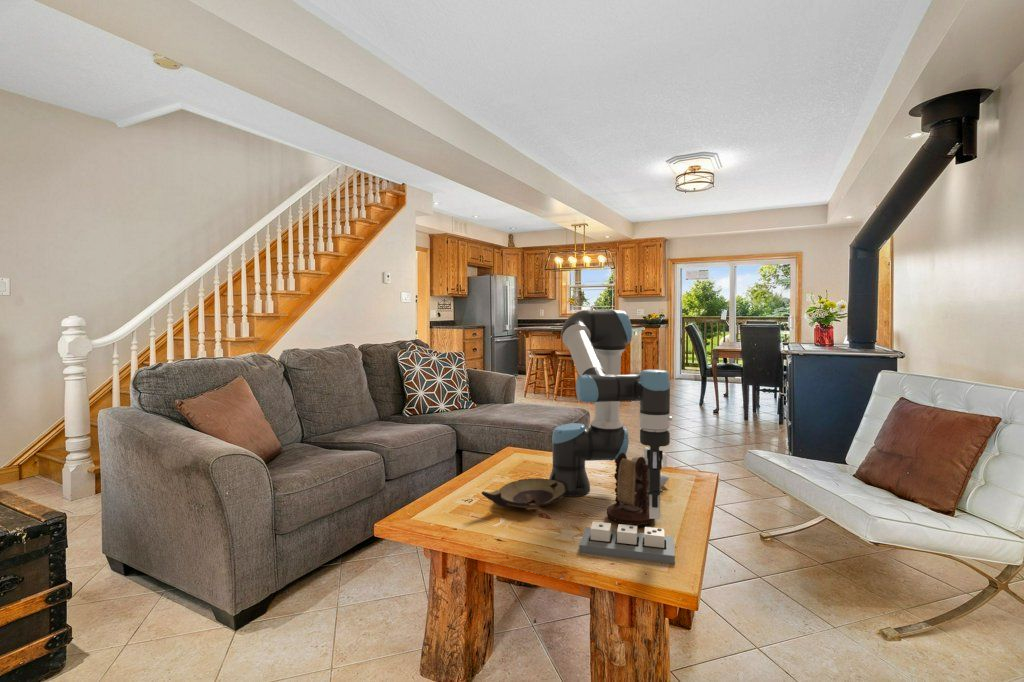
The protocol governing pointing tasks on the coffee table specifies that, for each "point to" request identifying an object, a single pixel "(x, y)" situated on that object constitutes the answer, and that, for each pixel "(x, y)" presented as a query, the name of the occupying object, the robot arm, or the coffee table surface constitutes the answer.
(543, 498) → the oil lamp
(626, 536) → the white die
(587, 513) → the coffee table surface
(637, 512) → the scroll
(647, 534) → the white die
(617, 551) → the button board
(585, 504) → the coffee table surface
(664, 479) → the figurine
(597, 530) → the white die
